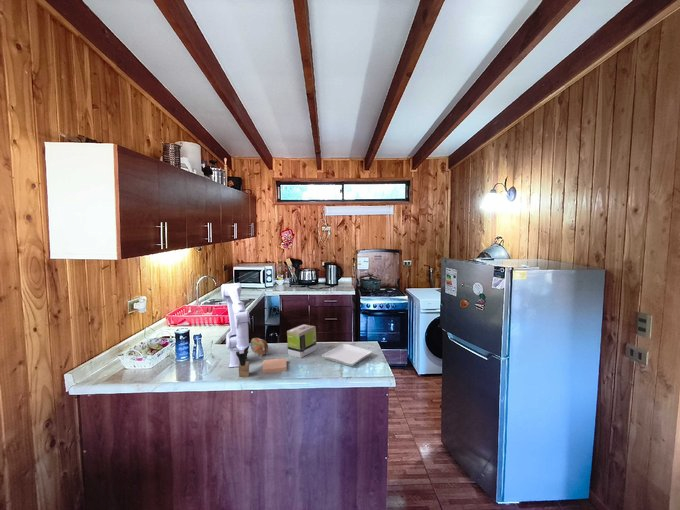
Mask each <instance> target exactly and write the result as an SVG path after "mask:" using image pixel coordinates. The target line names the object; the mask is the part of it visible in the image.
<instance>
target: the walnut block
mask: <svg viewBox="0 0 680 510" xmlns="http://www.w3.org/2000/svg"><path fill="white" fill-rule="evenodd" d="M249 376H250V362H249V361H246V364H245V366H241V365H240V363H239V366H238V378H239V377H242V378H249Z"/></svg>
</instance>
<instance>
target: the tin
mask: <svg viewBox="0 0 680 510" xmlns="http://www.w3.org/2000/svg"><path fill="white" fill-rule="evenodd" d="M249 343H251V346H250V348H251V351H252V352H253V353H255V354H257V355H260V356H263V355H266V354H267V353H268V351H269V344H268V342H267V341H266V340H265V339H262V338H260V337H254V338H253V337H252V338H251V340H250V342H249Z"/></svg>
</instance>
